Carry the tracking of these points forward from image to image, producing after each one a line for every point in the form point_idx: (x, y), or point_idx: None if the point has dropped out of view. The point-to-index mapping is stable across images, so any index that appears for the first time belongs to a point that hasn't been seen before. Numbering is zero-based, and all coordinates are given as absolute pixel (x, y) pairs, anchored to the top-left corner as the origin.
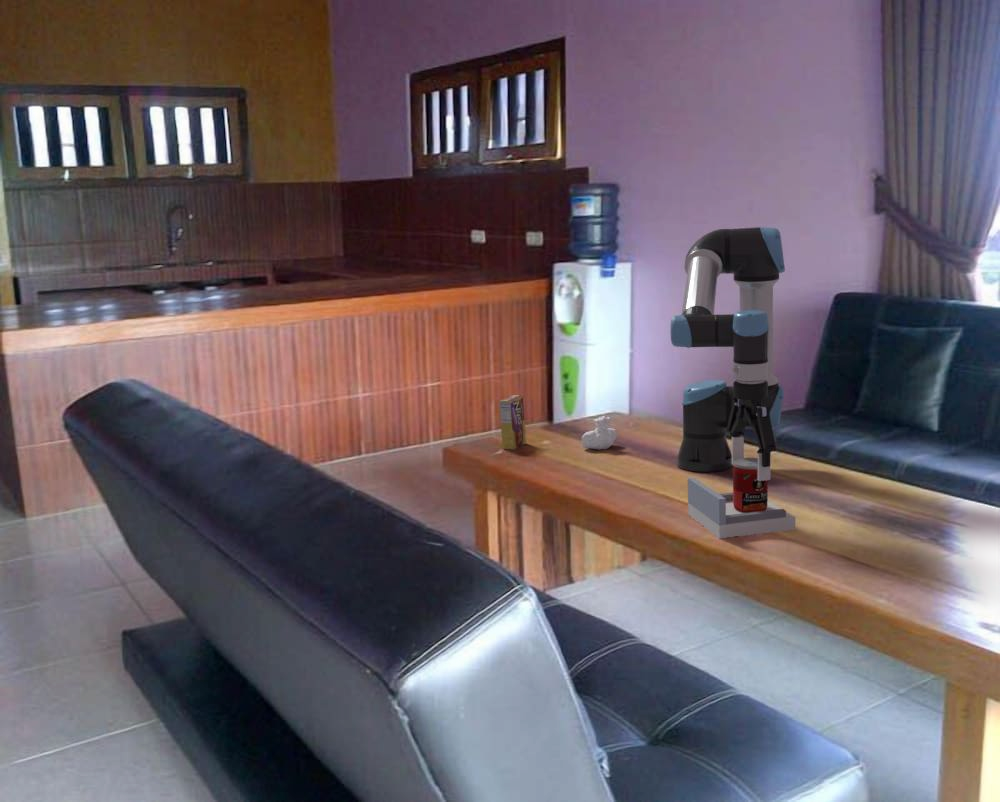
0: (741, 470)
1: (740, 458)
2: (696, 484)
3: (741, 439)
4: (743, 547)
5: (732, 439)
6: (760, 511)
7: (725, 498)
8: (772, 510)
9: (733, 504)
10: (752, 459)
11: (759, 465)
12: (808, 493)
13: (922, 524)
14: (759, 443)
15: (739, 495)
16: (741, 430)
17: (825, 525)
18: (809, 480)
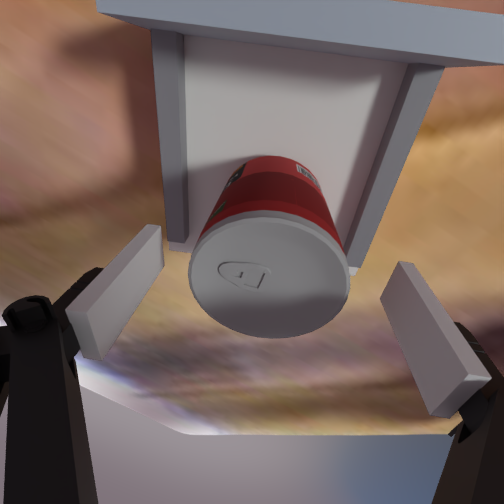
0: (228, 212)
1: (344, 286)
2: (402, 3)
3: (429, 392)
4: (81, 43)
5: (468, 363)
6: (180, 183)
7: (97, 10)
8: (179, 215)
9: (295, 161)
10: (309, 316)
11: (112, 262)
12: (356, 358)
13: (152, 374)
14: (23, 366)
15: (251, 170)
16: (454, 457)
17: (187, 289)
18: (412, 391)
